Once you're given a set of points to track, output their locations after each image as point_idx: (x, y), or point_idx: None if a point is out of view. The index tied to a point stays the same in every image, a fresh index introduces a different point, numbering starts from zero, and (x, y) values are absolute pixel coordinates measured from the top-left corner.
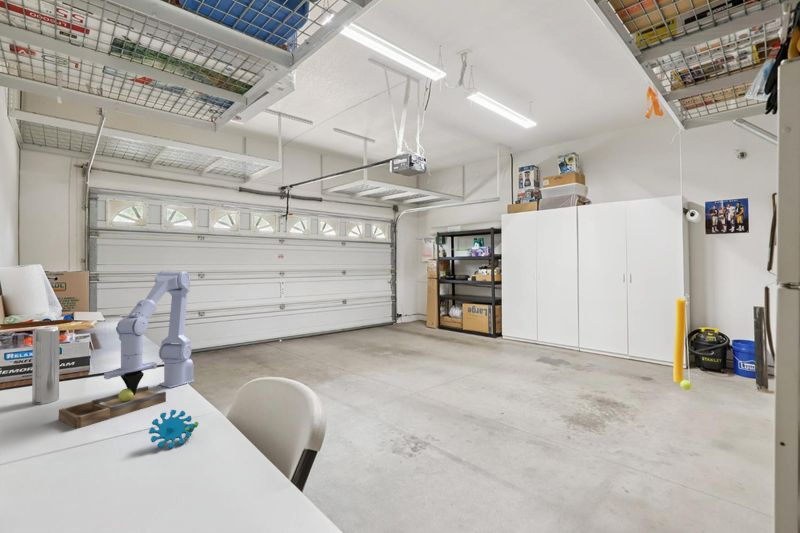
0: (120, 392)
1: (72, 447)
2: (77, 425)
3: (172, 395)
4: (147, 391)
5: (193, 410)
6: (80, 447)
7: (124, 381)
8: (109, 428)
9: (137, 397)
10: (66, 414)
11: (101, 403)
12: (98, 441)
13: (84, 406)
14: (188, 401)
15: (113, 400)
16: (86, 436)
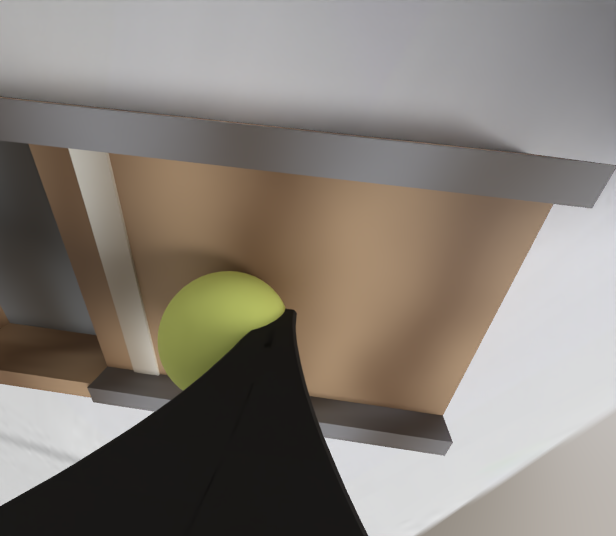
0: (158, 351)
1: (11, 441)
2: None
3: (542, 348)
4: (499, 239)
5: (369, 519)
6: (31, 455)
7: (139, 441)
8: (115, 424)
9: (333, 308)
10: None
11: (87, 183)
12: (74, 462)
13: None
14: (453, 467)
15: (186, 192)
16: (44, 416)
